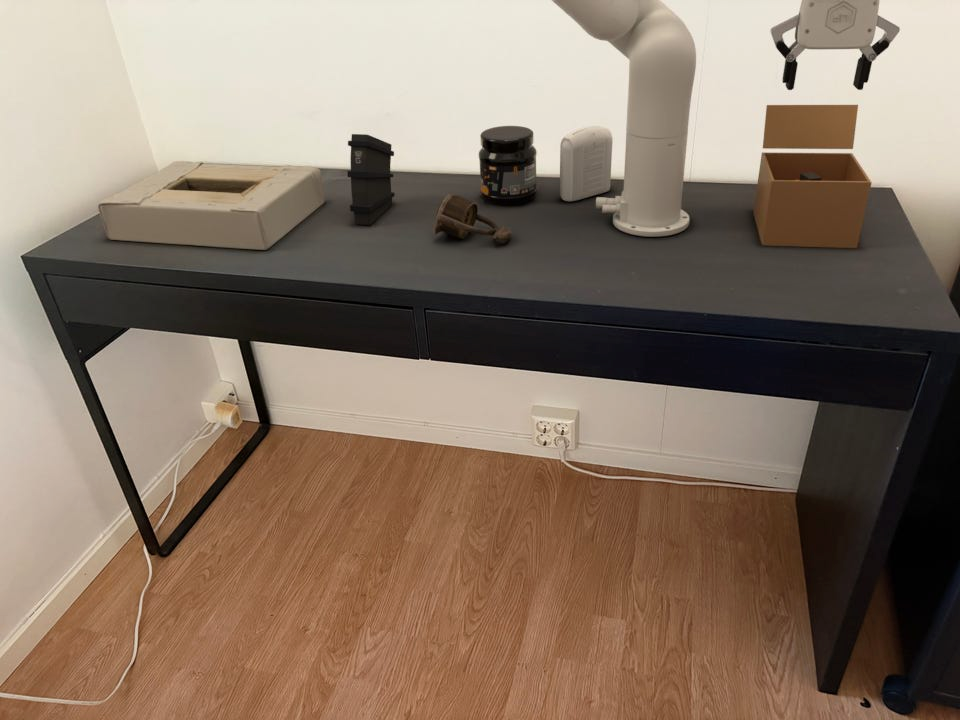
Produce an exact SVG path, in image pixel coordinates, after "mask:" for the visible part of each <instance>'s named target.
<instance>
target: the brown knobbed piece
mask: <svg viewBox="0 0 960 720" xmlns="http://www.w3.org/2000/svg"><path fill="white" fill-rule="evenodd" d="M478 210H479V207H478V204H477V203H476V202H474V201H472V200H469V199H467V198H465V197H463V196H460V195H457V194H455V193H450V194H448V195H447V196H445V198H443V199H442V201H441V203H440V204H439V207H438V209H437V211H436V220H435V225H434V229H433V232H432V233H433V234H434V235H437V234H439V233H442V232H444V233H446V234H449V235H450V236H453V237H456V238H458V239H461V240H463V239H465V238H466V237H467V236H469V234H470V233H473V234H477V235H482V236H491V237H492V239H493V241H494V242H495V243H496V244H499V245H501V244H505V243H506V242H508V241H509V240H510V239H511V237H512V231H511V229H510V228H509V227H508V226H506V225H502V226H500V227H499V225H498V224H497V223H496V222H494V221H493V220H491V219H490V218H488V217H486V216H484V215H481V214H479V213H478V212H479V211H478ZM476 221H478V222H481V223H483V224H485V225H488V226H489V227H490V228H491V229H490V228H489V229H488V228H480V227H476V226H474V225H475V223H476Z"/></svg>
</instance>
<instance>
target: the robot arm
mask: <svg viewBox="0 0 960 720" xmlns="http://www.w3.org/2000/svg"><path fill="white" fill-rule="evenodd" d="M551 2H553V3H554V4H555V5H556V6H557V7H558V8H559V9H561V10H562V11H563V12H564V13H565V14H566V15H568V16H569V17H570V18H571V19H572V20H573V21H574V22H575V23H577V25H578V26H580V28H581V29H583V31H584V32H586V34H587V35H589V36H591V37H592V38H593V39H596V40H599V41H606V42H608V43H609V44H610V45H611V46H612V47H614V48H615V49H616V50H617V51H618V52H619V53H621V55H623V56H624V57H626V58H627V59H628V62H629V64H628V65H629V66H628V71H629V72H628V87H627V90H628V92H627V105H626V106H627V107H626V123H625V125H626V126H625V152H624V155H625V156H624V171H623V173H624V174H623V190H622V191H621V195H615V197H601V196H597V197H596V199H595V209H598V210H599V209H600V210H601V213H602V214H610V213H612V225H613V226H614V227H615V228H616V229H618V230H619V231H620V232H623V233H626V234H629V235H632V236H638V237H646V238H660V237H668V236H672V235H677V234H680V233H681V232H683V231H685V230H686V229H687V228H688V227H689V225H690V215H689V214H688V212H686V211H685V210H683V209H682V199H683V189H684V180H685V179H684V178H685V169H686V168H685V167H686V159H687V158H686V157H687V146H688V134H689V122H690V110H691V103H692V102H691V101H692V95H693V94H692V93H693V87H694V81H695V76H696V68H697V50H696V49H697V48H696V44H695V41H694V38H693V36H692V33H691V32H690V30H689V28H688V27H687V25H686V24H685V22H684V21H683V20H682V18H681V17H680V16H679V15H677V14H676V13H675V12H674V11H673V10H672V9H670V7H668V5H666V4H665V3H663V1H662V0H551ZM880 2H881V1H880V0H801V2H800V7H799V10H798V14H796V15H794V16H792V17H790V18H788V19H787V20H784V21H783V22H780V23H778V24H777V25H774V26H772V27H771V28H770V29H769V30H770V31H769V32H770V35H771V38H772V42H773V43H774V46H775V48H776V49H777V51H778V52H779V53H780V54H781V56H782V57H784V59H785V61H784V66H783V67H784V68H783V73H782V80H781V81H782V83H783V84H785V88H786V89H787V90H788V91H792V90H794V88H795V82H796V78H797V70H798V66H799V65H798V63H799V62H798V61H797V58H798V57H799V55H801V54H802V53H803V52H804V51H805V50H859V51H860V52H861V56H860V57H859V58H858V59H857V63H856V67H855V73H854V79H853V83H852V85H853V87H854V88H855V89H856V90H858V91H863V89H864V85H865V84H866V83H868V82H869V78H870V74H871V71H872V70H871V69H872V64H873V62H874V61H875V60H876V59H877V57H879V56H880V55H881V54H883V52H885V51H886V50H887V49H889V46H890V44H891V43H893V41H894V39H895V38H896V37H897V35H898V34H899V33H900V31H901V29H900V27H899V26H898V25H896V24H894V23H893V22H891V21H889V20H888V19H885V18H884V17H882V16H881V15H879V9H880ZM877 28H879V29H881V30H882V31H884V33H883V35H882V37H881V38H880V39H879V40H877V41H876V42H875V43H874V44H872V43H873V41H874V38H875V34H876V29H877ZM793 29H795V31H794V40H795V41H793V43H791V45H790V46H789V47H788V45H787V44H786V43H785V40H784V37H783V35H784V34H785V33H787V32H789V31H791V30H793Z"/></svg>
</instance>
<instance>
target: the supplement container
mask: <svg viewBox="0 0 960 720" xmlns="http://www.w3.org/2000/svg"><path fill="white" fill-rule="evenodd" d="M479 136H480V138H479V139H480V140H479V141H480V146H481V148H480V149H479V151H478V159H479V175H480V176H479V177H480V195H481V198H483V200H484V201H485V202H487V203H490V204H492V205H497V206H516V205H521V204H525V203H527V202H529V201H531V200H532V199H534V198H535V197H536V195H537V193H538V186H537V155H538V154H537V153H538V151H537V149H536V147H535V146H534V143H535V141H534V138H535V137H534V136H535V135H534V131H533V130H532V129H531V128H529V127H525V126H520V125H500V126H495V127H490V128H487V129H484V130H483V131H482V132H481V133H480V134H479Z"/></svg>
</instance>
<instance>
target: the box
mask: <svg viewBox="0 0 960 720" xmlns="http://www.w3.org/2000/svg"><path fill="white" fill-rule="evenodd" d="M325 200H326V194H325V185H324V180H323V175H322V171H321V169H320V168H319V167H316V166H311V165H310V166H309V165H303V166H302V165H300V166H299V165H298V166H295V165H290V164H287V165H284V166H271V165H270V166H269V165H248V164H247V165H245V164H224V163H204V162H203V161H188V160H177V161H173V162H171V163H170V164H168V165H167V166H165V167H163V168H162V169H160V170H158V171H156V172H154V173H153V174H151V175H149V176H147V177H145V178H143V179H142V180H140V181H138V182H136V183H134V184H132V185H131V186H128V187H127V188H125V189H122V190H121V191H119V192H117V193H116V194H114V195H111V196H110V197H107V198H105V199H103V200H101V201H99V203H98V206H97V209H98V213H99V216H100V219H101V222H102V225H103V227H104V231H105V233H106V236H107V238H108V239H109V240H111V241H112V240H113V241H123V242H125V241H126V242H138V243H139V242H141V243H156V244H169V245H184V246H199V247H209V248H210V247H212V248H225V249H226V248H227V249H242V250H256V251H257V250H258V251H267V250H268V249H269V248H271V247H272V246H273V245H274V244H276V243H277V242H278V241H280V240H281V239H282V238H283V237H285V236H286V235H287V234H288V233H289V232H290V231H292V230H293V229H294V228H295V227H297V226H298V225H300V223H301V222H303V221H304V220H305V219H307V217H309V216H311V214H312V213H314V212H315V211H317V210H318V209H319V208H320V207H321V206H322V205H324V204H325Z"/></svg>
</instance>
